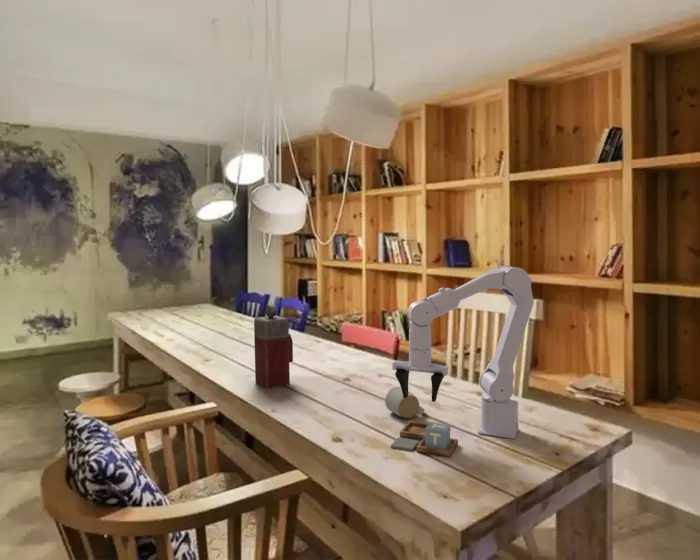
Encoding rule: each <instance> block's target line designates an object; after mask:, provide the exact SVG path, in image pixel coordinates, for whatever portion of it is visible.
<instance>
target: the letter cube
mask: <svg viewBox="0 0 700 560" xmlns="http://www.w3.org/2000/svg"><path fill="white" fill-rule="evenodd" d="M428 424H429V425H428V426H427V427H426V428H425V447H430V448H436V449H442V450H447V448H448V447H449V445H450V438H451V424H449V423H441V422H440V423H439V422H433V421H430V422H429V423H428Z"/></svg>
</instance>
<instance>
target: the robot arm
mask: <svg viewBox="0 0 700 560" xmlns="http://www.w3.org/2000/svg"><path fill="white" fill-rule="evenodd" d="M532 281H533V280H532V279H531V277H530V275H529V274H528V272H526V270H525V269H523V268H521V267H514V266H510V265H506V264H503V265H500V266H498V267H497V268H492V269H489V270H488V271H486V272H484V273H483V274H480V275H479V276H477V277H475V278H473V279H471V280H469V281H468V282H466V283H464V284H462V285H460V286H458V287H456V288H450V287H446V288H444V287H440V288H438V291H437V292H436V293H434V294H432V295H429V296H427V297H426V296H424V297H422V298H421V300H418V301H417V300H416V301H413V302H412V303H411V304H410V305H409V307H408V309H407V310H406V315H407V318H408V319H409V325H408V326H409V330H408V361H401V360H399V361H397V360H394V361H392V370H393V371H396V372H395V373H394V375H395V377H396V379H397V381H398V383H399V387H401V389H402V393H403V398H407V397H408V392H409V379H410V378H409V376H410V372H415V373H416V372H419V373H426V374H427V373H428V374H432V375H431V376H430V380H431V381H430V382H431V402H433V403H435V402H436V401H437V398H438V392H439V389H440V386H441V384H442V381H443V379H444V378H445V376H447V375H449V366H448V365H442V364H437V363H433V362H432V323H433V321H434V319H435V318H436V319H437V318H438V317H441V316H443V315H445V314H447V313H449V312H451V311H453V310H455V309H457V308H458V307H459V305H460V303H461V301H462V300H465V299H467V298H470V297H472V296H474V295H476V294H479V293H482V292H484V291H486V290H489V289H491V290H492V289H494V290H501V291H502V292H503V293H504V294H505V296H506V298H507V299H508V301H509V302H510V306H509V308H508V313H507V316H506V319H505V322H504V324H503V327H502V330H501V334H500V337H499V340H498V343H497V347H496V349H495V351H494V354H493V355H494V356H493V358H492V360H491V361H489V362H488V364H487V366H486V368H485V370H484V371H483V372H481V374H480V376H479V380H478V384H479V387H480V388H481V389H482V390H483V392H482V394H481V414H480V417H481V418H480V421H481V422H480V425H479V427H478V430H477V434H481V435H485V436H492V437H493V436H495V437H499V438H507V439H515V438H516V436H517V433H518V430H519V401H518V400H514V399H511V397H513V394H514V390H515V389H514V380H515V373H514V364H515V361H516V357H517V354H518V351H519V348H520V346H521V342H522V341H523V337H524V333H525V330H526V327H527V325H528V322H529V320H530V319H529V318H530V315H531V313H532V309H533V307H534V301H535V300H534V296H533V295H534V294H533V290H532Z"/></svg>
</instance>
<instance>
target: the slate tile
mask: <svg viewBox="0 0 700 560" xmlns="http://www.w3.org/2000/svg"><path fill="white" fill-rule="evenodd" d="M419 443H420V440H417V439H411V438H404V437H400V436H399V437H397V438H396V439H395V440H394V441H393V442H392V444H391V445H390V448H391V449H397V450H403V451H408V452H413V451H414V450H415V448H417V446H418V444H419Z"/></svg>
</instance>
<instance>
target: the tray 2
mask: <svg viewBox="0 0 700 560" xmlns="http://www.w3.org/2000/svg"><path fill="white" fill-rule="evenodd" d="M458 445H459V439H458V438H453V437H452V438H451V437H450V445H449V447H448V448H447V450H442V449H436V448H430V447H425V437H424V438H423V439H422V440H420V441H419V443H418V444H417V446H416V453H419V454H420V453H421V454H427V455H432V456H440V457H444V458H451V457H452V455H454V452H455V451H456V449H457V447H458Z"/></svg>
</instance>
